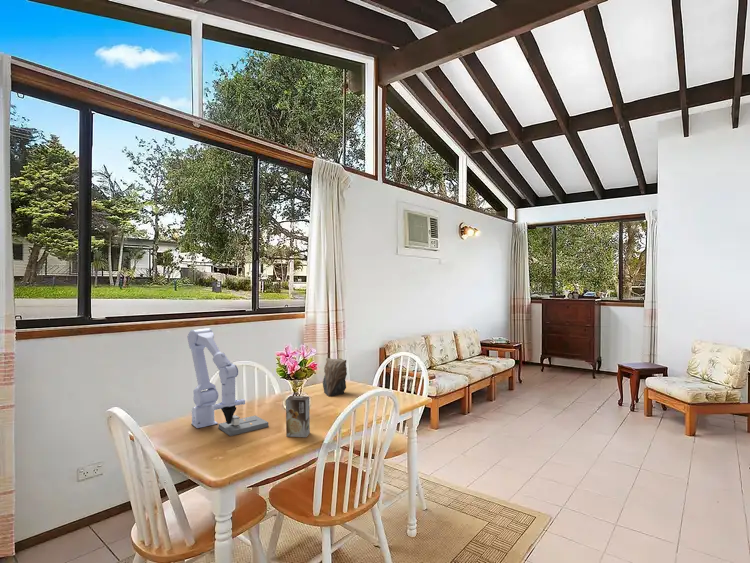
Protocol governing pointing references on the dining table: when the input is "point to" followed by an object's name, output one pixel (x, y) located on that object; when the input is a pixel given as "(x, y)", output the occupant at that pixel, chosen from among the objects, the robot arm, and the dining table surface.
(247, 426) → the console
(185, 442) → the dining table surface
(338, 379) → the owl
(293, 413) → the coffee box
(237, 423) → the fader tab
